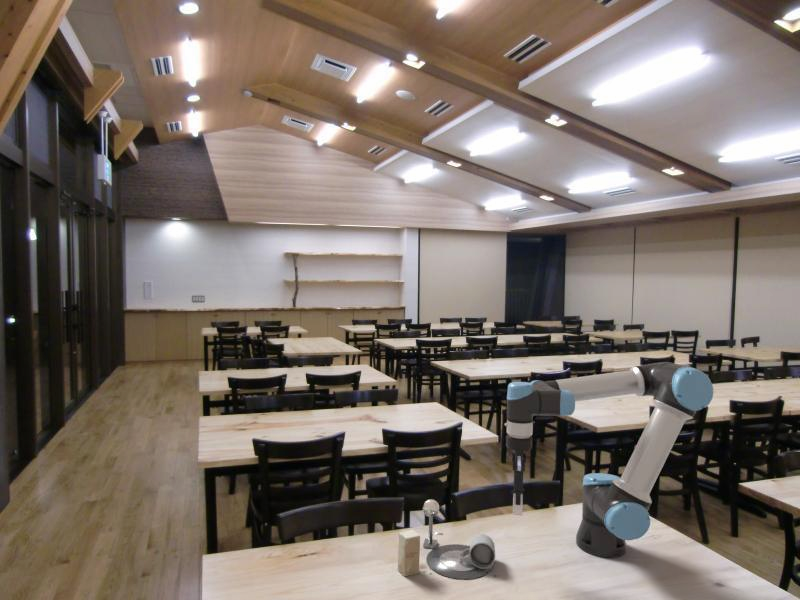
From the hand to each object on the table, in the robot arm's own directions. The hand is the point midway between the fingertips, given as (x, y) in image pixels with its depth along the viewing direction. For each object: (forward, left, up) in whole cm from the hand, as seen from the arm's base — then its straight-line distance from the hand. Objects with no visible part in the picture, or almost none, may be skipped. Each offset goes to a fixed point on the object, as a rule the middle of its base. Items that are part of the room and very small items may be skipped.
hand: (517, 513), depth 156 cm
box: (+31, +9, -16) cm, 36 cm away
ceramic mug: (+11, 0, -16) cm, 20 cm away
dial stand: (+27, -8, -16) cm, 32 cm away
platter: (+17, 0, -16) cm, 23 cm away
